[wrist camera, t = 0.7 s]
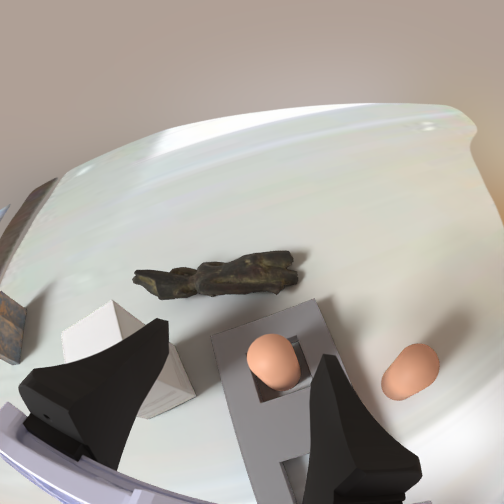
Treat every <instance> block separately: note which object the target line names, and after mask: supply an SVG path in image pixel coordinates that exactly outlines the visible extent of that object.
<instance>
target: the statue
mask: <svg viewBox="0 0 504 504" xmlns="http://www.w3.org/2000/svg"><path fill="white" fill-rule="evenodd" d="M292 263H293V257H292V256H291V254H290V252H289V251H270V252H262V253H253V254H248V255H244V256H242V257H240V258H238V259H236V260H234V261H231V262H229V263H223V262H205V263H202V264H201V265H200V266H199V267H198V269H197V270H195V269H192V268H186V267H180V268H174V269H172V270H171V271H170V272H163V271H156V270H136V271H135V272H134V274H135V275H136V276H135V277H133V279H132V280H133V283H135V284H138V285H141V286H143V287H144V288H145V289H146V290H147V291H149V292H150V293H151V294H153V295H155V296H158V298H159V299H160V300H169V299H175V298H177V299H178V298H188V297H190V296H192V295H195V294H197V293H199V294H204V295H208V296H211V297H214V296H216V295H225V294H248V293H251V292H253V293H254V292H266V291H268V292H272V293H274V294H276V295H277V294H278V293H279V292H280V291H281V290H283V289H284V286H283V285H294V284H297V282H298V277H297V275H298V274H297V272H296V271H293V270H289V269H287V267H288V266H290V265H292ZM287 265H288V266H287Z"/></svg>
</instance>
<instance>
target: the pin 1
mask: <svg viewBox="0 0 504 504" xmlns="http://www.w3.org/2000/svg"><path fill="white" fill-rule="evenodd" d="M247 362H248V365H249V367H250V369H251V370H252V372H253V373H254V374H255V375H257V376H258V377H259V378H260V379H261V380H262V381H263V382H264V383H265V384H266V385H268V386H269V387H270V388H271V389H273V390H276V391H286V390H289V389H291V388H293V387H294V386H295V385H296V384H297V383H298V381H299V379H300V376H301V368H300V365H299V363H298V360H297V357H296V355H295V352H294V349H293V347H292V345H291V343H290V342H289V341H288V340H287V339H286V338H285V337H283V336H281V335H278V334H266V335H263V336H261V337H259V338H257V339H256V340H255V341H254V342H253V343H252V344H251V346H250V347H249V349H248V353H247Z"/></svg>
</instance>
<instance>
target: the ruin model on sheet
mask: <svg viewBox="0 0 504 504" xmlns="http://www.w3.org/2000/svg"><path fill="white" fill-rule="evenodd" d="M26 312H27V309H25V308H24V307H22V306H21V305H20V304H18V303H17V302H15V301H14V300H13V299H11V298H10V297H9V296H7V295H6V294H5V293H3V292H2V291H0V359H2V360H4V361H6V362H8V363H9V364H11V365H16V364H20V354H21V345H22V337H23V330H24V324H25V318H26Z"/></svg>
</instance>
